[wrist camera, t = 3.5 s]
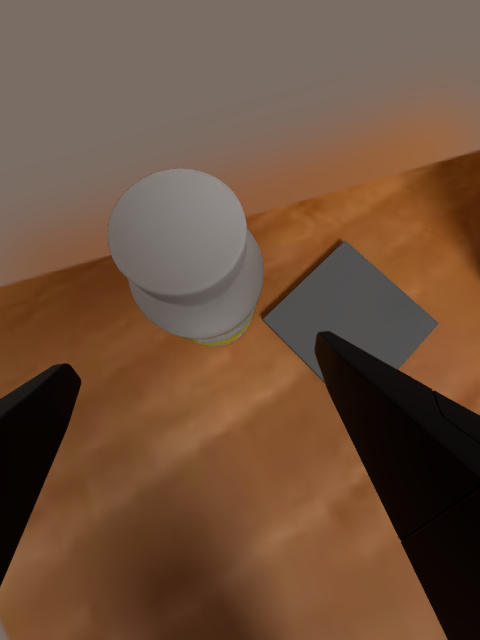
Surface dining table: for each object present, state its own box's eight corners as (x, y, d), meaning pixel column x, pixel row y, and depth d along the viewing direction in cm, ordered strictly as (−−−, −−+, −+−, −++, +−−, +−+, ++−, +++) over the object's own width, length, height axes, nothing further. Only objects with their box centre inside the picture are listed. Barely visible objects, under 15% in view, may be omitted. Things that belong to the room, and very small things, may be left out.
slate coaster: (354, 413, 18) (357, 414, 18) (262, 320, 20) (263, 319, 19) (433, 324, 20) (438, 323, 19) (342, 243, 21) (345, 240, 21)
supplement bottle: (171, 288, 20) (59, 168, 8) (239, 268, 21) (241, 122, 8) (190, 358, 19) (95, 353, 6) (262, 335, 19) (306, 288, 7)
